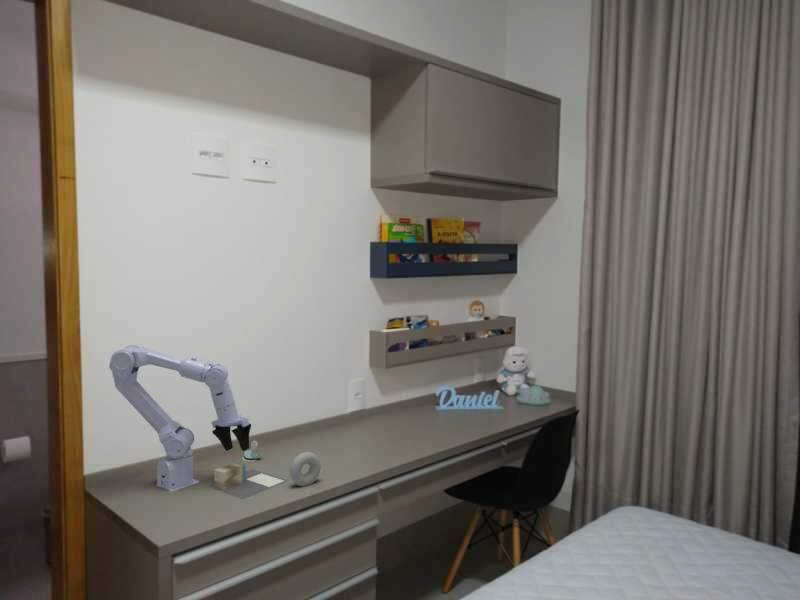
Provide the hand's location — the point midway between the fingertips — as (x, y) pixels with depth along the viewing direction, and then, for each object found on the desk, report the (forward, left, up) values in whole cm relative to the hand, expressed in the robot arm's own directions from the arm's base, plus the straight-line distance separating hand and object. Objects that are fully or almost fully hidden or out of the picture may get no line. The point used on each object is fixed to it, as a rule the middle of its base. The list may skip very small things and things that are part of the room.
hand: (237, 449), depth 174 cm
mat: (+1, -4, -10) cm, 11 cm away
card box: (-3, 0, -9) cm, 10 cm away
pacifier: (+16, +12, -10) cm, 23 cm away
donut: (+10, -18, -10) cm, 23 cm away
